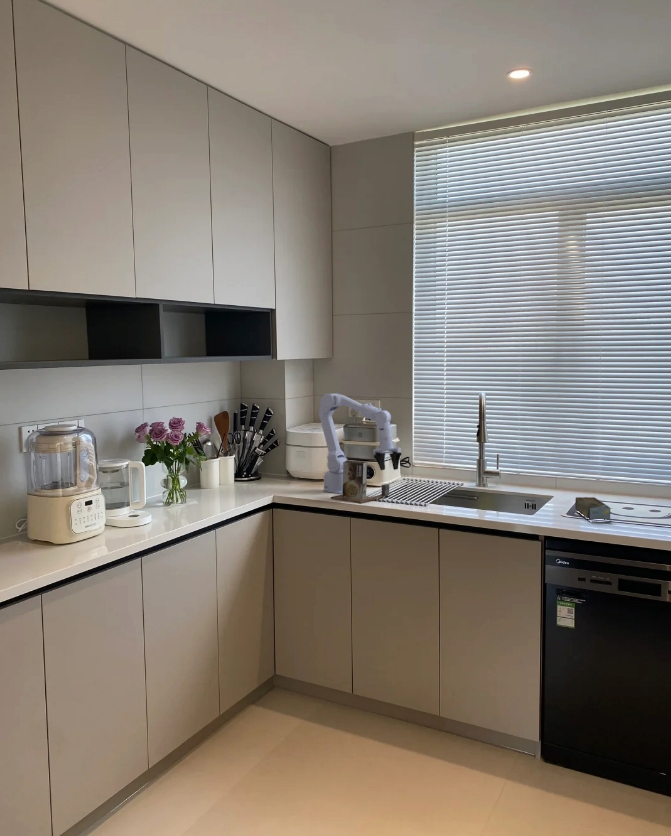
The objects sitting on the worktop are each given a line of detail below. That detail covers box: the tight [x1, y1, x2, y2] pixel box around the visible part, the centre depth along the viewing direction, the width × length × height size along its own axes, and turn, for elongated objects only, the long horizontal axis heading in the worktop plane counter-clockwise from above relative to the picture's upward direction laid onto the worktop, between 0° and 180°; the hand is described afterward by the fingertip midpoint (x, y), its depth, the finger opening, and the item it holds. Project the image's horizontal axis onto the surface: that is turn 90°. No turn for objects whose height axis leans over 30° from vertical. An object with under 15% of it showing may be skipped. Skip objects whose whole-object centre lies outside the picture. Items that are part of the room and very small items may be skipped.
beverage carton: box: [574, 496, 611, 521], centre depth 267 cm, size 8×19×7 cm, turn 177°
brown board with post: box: [330, 483, 390, 504], centre depth 300 cm, size 16×21×5 cm
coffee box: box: [342, 459, 368, 499], centre depth 296 cm, size 9×6×16 cm
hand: (389, 469), depth 303 cm, fingers open, 7 cm apart
